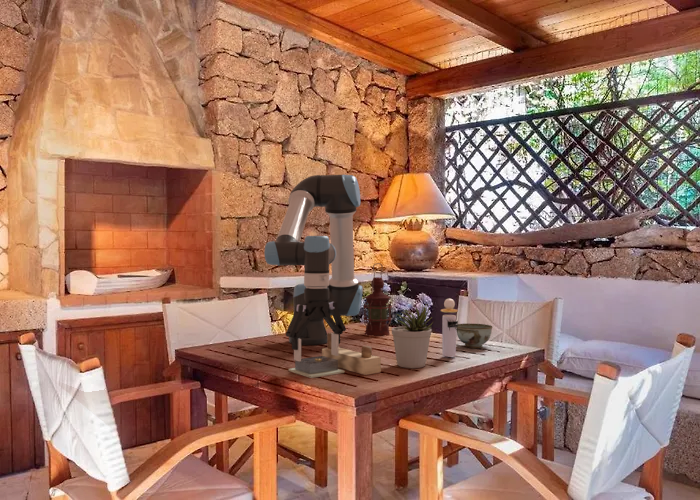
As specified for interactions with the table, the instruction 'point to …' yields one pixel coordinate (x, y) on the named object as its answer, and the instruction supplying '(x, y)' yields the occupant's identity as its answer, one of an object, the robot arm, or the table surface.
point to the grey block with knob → (316, 365)
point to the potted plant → (412, 340)
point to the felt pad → (317, 373)
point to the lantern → (377, 309)
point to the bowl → (474, 334)
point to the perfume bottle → (449, 329)
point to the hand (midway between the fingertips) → (316, 357)
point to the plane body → (355, 359)
